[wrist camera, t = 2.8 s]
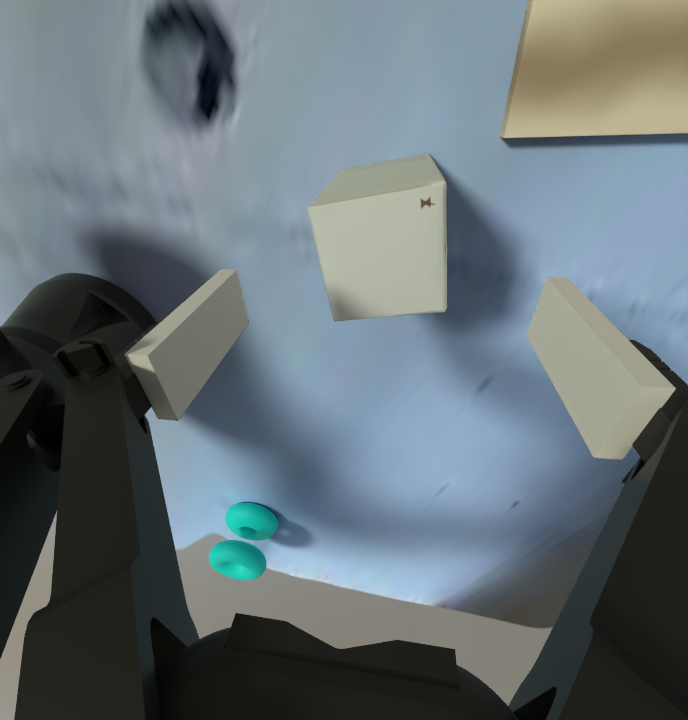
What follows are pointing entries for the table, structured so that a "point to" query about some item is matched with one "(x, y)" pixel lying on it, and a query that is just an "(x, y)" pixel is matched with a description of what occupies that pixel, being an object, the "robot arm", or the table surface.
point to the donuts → (240, 555)
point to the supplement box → (383, 239)
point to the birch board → (600, 69)
